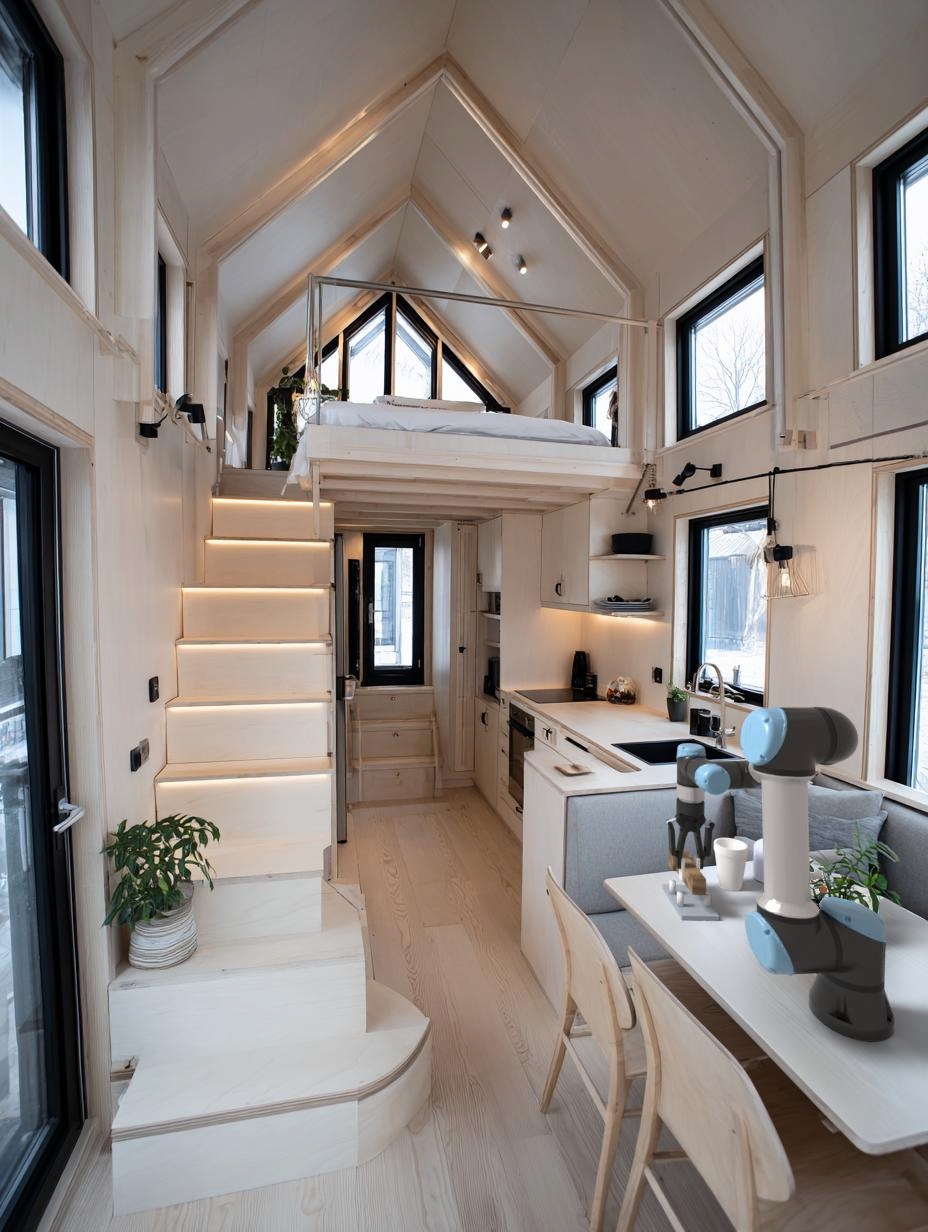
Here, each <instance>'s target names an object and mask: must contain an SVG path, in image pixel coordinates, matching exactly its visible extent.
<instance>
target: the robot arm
mask: <svg viewBox="0 0 928 1232" xmlns="http://www.w3.org/2000/svg"><path fill="white" fill-rule="evenodd" d="M858 744H859V734H858V731H857V728H856V725H854V723H853V722H852V720H851V719H850V718H849V717H848V716H846V715H845V714H844V713H842V712H841V711H838V710H836V709H834V708H830V707H826V706H811V707H809V706H806V707H805V706H804V707H803V706H802V707H798V706H797V707H796V706H795V707H794V706H793V707H791V706H790V707H788V706H786V707H785V706H784V707H781V706H780V707H779V706H771V707H763V708H757V709H754V710H753V711H751V712H750V713H749V714H748V715H747V716H746V718H745V720H744V721H743V724H742V726H741V731H740V746H741V747H740V748H741V750H742V754H743V756H744V758H745V760H709V759H708V758H707V757H706V756H707V754H706V749H705V746H703V745H701V744H698V743H688V742H687V743H681V744H679V745H678V746H677V751H676V757H675V758H676V797H677V798H676V802H675V803H676V805H675V807H676V811H675V816H674V818H672V819H671V818H670V819H666V820H665V824H666V826H667V830H668V833H667V836H668V853H669V852H670V853H671V855H672V856H675V857H676V867H677V868H678V869H679V875H678V878H679V880H680V881H681V882H682V883H684V882H685V859H684V857H683V851H685V846H686V845H685V844H686V841H687V837H688V835H689V833H693V838H694V843H695V851H696V854H694V855H693V863H694V864H695V866H696V867H697V868H698V869H699V871H700V872H701V870H704V861H705V859H706V858H709V857H711V855H712V854H711V853H712V844H713V843H712V842H713V831H714V829H715V827H716V824H715V822H714V821H712V819H707V818H706V816H705V807H706V806H705V803H706V802H705V798H706V797H705V796H706V793H708V794H710V795H713V796H718V795H722V794H724V793H726V792H727V791H729V790H730V791H735V790H736V791H737V790H761V815H762V816H761V820H762V821H761V826H762V838H763V866H764V883H763V892H762V893H760V894H759V895H758V896H757V897H756V910H752V911H750V912H749V911H748V912H747V914H746V916H745V919H744V928H745V935H746V937H747V941H748V944H749V947H750V949H751V951H752V953H753V955H754V958H755V959H756V960H757V962H758V963H759V964H760V965H761V967H762V969H764V970H765V971H766V972H768V973H770V974H772V975H786V976H788V977H789V976H790V977H791V976H793V975H806V974H807V975H809V974H810V975H811V974H816V975H815V978H814V980H813V983H812V984H811V987H810V988H809V991H808V1007H809V1010H810V1011H811V1013H812V1014H813V1015H814V1016H815V1017H816V1019H817V1020H819V1021H820V1022H821V1023H822V1024H824V1025H825V1026H826V1027H829V1028H830V1029H832V1030H833V1031H835V1032H837V1033H839V1034H841V1035H844V1036H847V1037H849V1038H852V1039H856V1040H861V1041H867V1042H881V1041H885V1040H888V1039H890V1038H891V1037H892V1036H893V1035H894V1033H895V1017H894V1014H893V1010H892V1008H891V1004H890V1001H889V998H888V995H887V992H886V987H885V980H886V977H885V976H886V973H885V972H886V950H887V949H886V947H887V945H886V944H887V941H888V938H887V936H886V934H887V933H886V924H885V922H884V920H883V918H882V916H880V915H879V914H878V913H877V912H875V911H874V910H872V909H871V908H870V907H867V906H865V905H863V904H861V903H858V902H856V901H852V900H850V899H848V900H847V899H843V898H838V897H824V898H822V900H821V901H820V903H819V907H820V909H819V907H818V906H817V905H816V902H814V901H813V899H811V898H812V896H811V894H812V893H811V867H810V866H811V863H810V832H809V831H810V829H809V828H810V827H809V826H810V825H809V798H808V797H809V793H808V790H809V789H808V784H809V782H810V781H811V780H812V779H813V778H815V777H816V775H817V773H816V766H819V765H821V766H827V767H828V766H832V765H836V764H837V763H841V762H843V761H846V760H847V759H849V758H850V757H851V756H853V754H854V753H855V752H856V750H857V748H858ZM705 792H706V793H705ZM676 824H677V825H678V826H679V833H678V838H677V843H676V830H675V828H676V826H677V825H676ZM703 826H705V827H704V835H703V836H704V837H703V842H702V833H701V829H702V827H703Z"/></svg>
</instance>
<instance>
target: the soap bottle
mask: <svg viewBox="0 0 928 1232" xmlns="http://www.w3.org/2000/svg"><path fill="white" fill-rule="evenodd" d="M752 859H753V862H752V864H753V867H752V869H753V871H752V873H753V878H754V879H755V880H757V881H758V882H760V883H762V884H764V866H763V837H762V838H759V839H757V840H756V841H755V842H754V844H753V858H752Z"/></svg>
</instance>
